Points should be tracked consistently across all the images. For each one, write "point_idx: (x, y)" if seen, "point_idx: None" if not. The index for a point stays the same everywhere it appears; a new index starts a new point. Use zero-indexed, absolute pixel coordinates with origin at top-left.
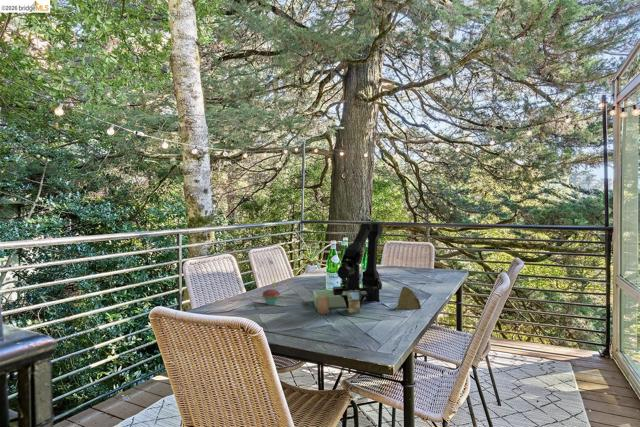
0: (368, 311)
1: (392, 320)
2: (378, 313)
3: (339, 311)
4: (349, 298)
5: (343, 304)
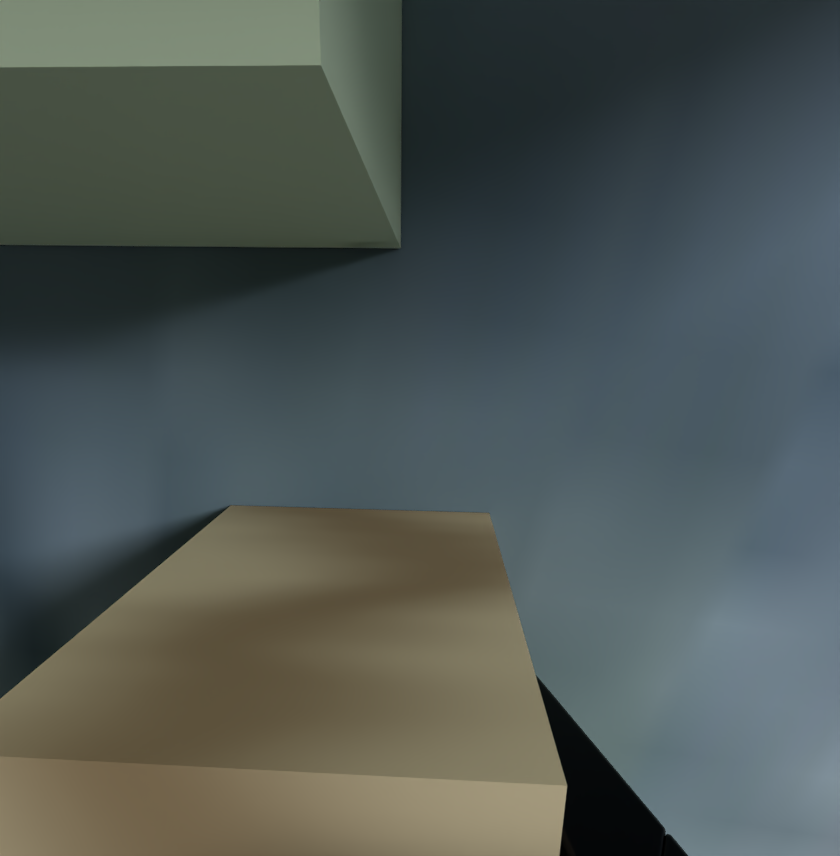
0: (679, 704)
1: None
2: (825, 849)
3: (53, 604)
4: (180, 150)
5: (94, 232)
